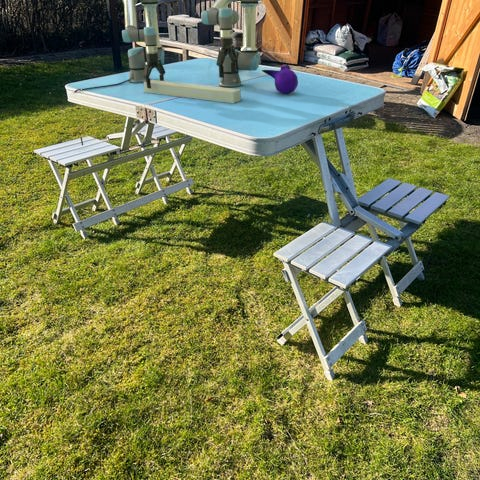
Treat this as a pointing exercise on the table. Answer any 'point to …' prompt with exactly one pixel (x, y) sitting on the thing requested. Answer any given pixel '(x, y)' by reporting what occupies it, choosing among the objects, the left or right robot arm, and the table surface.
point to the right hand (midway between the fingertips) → (227, 75)
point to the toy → (284, 79)
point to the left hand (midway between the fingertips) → (155, 86)
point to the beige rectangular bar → (194, 91)
